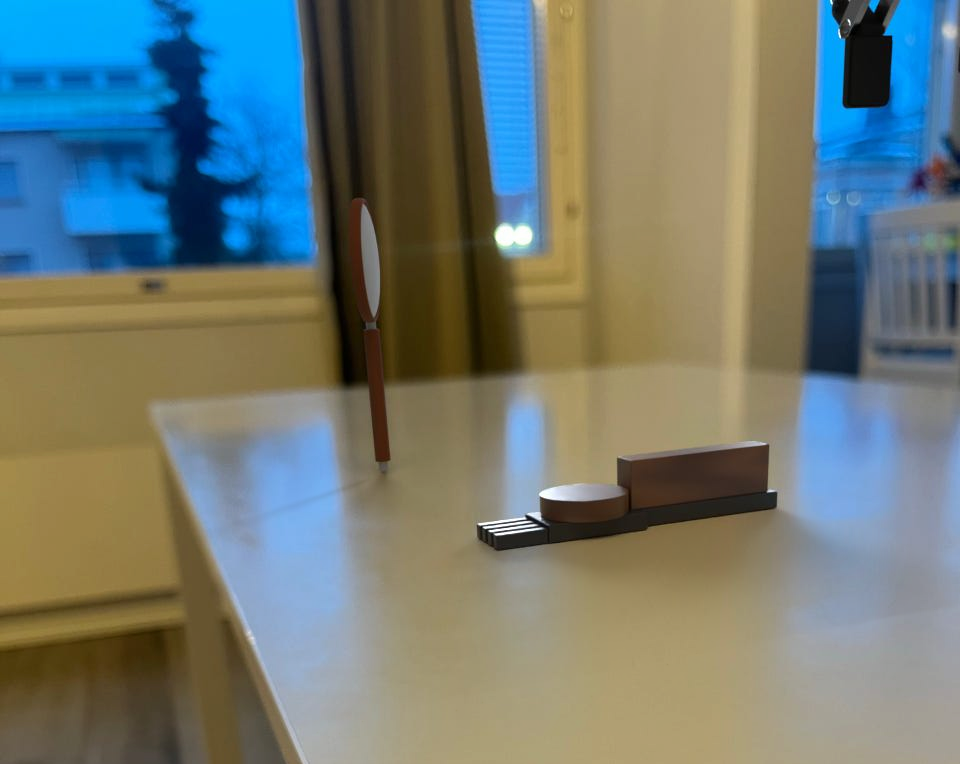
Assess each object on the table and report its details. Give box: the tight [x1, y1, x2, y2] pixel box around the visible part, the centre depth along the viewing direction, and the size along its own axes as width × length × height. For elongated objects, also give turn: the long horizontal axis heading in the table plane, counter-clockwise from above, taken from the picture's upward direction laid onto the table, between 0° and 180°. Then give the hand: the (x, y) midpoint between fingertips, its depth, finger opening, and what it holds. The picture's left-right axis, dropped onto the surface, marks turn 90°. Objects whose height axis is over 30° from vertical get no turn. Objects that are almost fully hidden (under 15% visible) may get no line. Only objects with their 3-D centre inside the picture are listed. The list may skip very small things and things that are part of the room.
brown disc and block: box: [539, 440, 770, 523], centre depth 57 cm, size 14×5×3 cm, turn 109°
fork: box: [476, 488, 778, 551], centre depth 57 cm, size 18×4×1 cm, turn 109°
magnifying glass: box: [348, 197, 391, 475], centre depth 75 cm, size 9×2×20 cm, turn 177°
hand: (920, 91), depth 59 cm, fingers open, 9 cm apart
